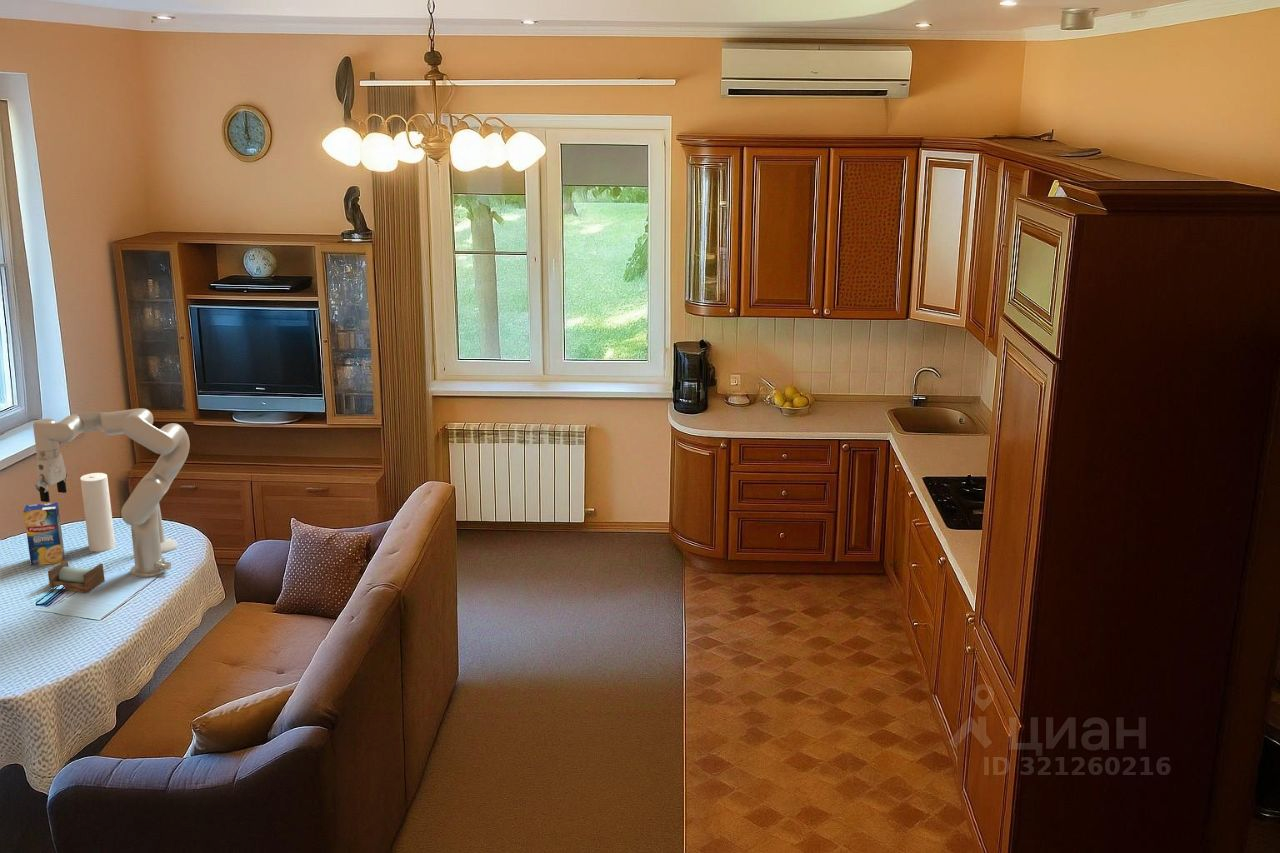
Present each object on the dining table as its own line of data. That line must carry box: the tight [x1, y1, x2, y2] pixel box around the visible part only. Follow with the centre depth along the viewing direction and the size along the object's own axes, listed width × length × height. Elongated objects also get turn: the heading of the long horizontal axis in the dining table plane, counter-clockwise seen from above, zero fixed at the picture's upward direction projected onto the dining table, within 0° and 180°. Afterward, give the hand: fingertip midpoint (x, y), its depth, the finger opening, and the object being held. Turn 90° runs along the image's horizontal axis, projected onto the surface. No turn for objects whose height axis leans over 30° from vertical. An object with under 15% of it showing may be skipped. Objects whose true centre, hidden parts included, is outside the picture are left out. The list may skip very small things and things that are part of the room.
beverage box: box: [23, 501, 66, 566], centre depth 425 cm, size 7×11×22 cm, turn 111°
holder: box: [47, 559, 106, 594], centre depth 408 cm, size 15×10×7 cm, turn 81°
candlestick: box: [158, 502, 179, 554], centre depth 439 cm, size 13×13×30 cm
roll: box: [59, 566, 92, 584], centre depth 408 cm, size 10×6×6 cm, turn 82°
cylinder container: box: [79, 472, 116, 553], centre depth 437 cm, size 9×9×30 cm
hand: (53, 496), depth 410 cm, fingers open, 9 cm apart
